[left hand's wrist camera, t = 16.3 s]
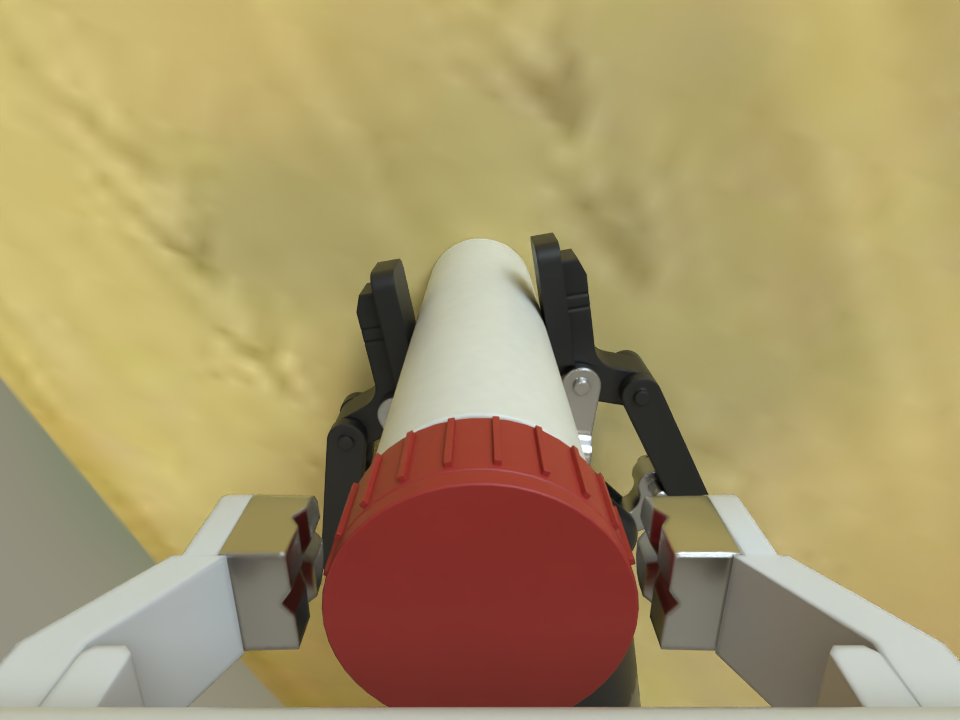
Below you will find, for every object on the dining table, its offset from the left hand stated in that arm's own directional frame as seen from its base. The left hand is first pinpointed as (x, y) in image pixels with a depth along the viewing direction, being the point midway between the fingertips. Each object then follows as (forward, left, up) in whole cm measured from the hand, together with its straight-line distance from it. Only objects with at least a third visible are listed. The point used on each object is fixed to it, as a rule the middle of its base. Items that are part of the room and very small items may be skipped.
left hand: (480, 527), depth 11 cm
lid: (0, 0, +2) cm, 2 cm away
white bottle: (0, 0, -15) cm, 15 cm away
